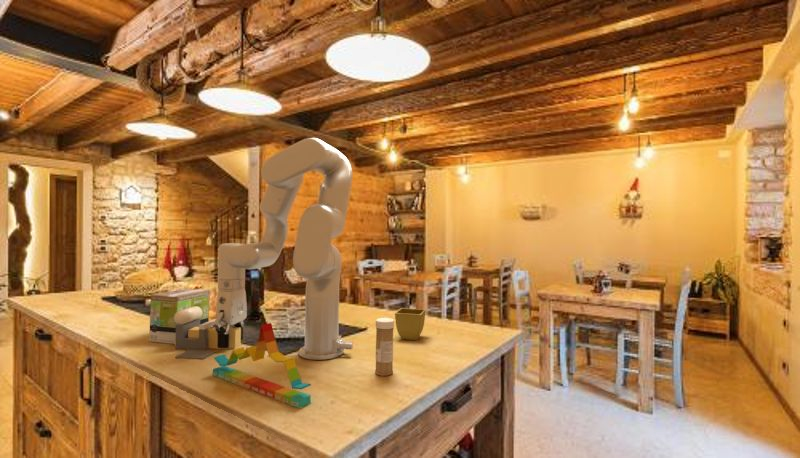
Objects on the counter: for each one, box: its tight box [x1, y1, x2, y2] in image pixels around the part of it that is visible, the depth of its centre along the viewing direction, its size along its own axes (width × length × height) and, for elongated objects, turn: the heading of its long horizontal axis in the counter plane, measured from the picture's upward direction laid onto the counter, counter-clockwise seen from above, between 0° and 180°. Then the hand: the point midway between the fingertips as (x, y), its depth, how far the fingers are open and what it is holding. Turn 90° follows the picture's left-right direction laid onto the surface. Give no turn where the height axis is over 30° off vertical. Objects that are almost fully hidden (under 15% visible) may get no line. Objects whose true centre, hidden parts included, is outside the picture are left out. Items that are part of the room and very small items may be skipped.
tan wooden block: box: [188, 326, 242, 350], centre depth 119 cm, size 14×4×6 cm, turn 89°
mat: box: [175, 350, 216, 360], centre depth 111 cm, size 8×6×1 cm
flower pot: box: [394, 307, 426, 341], centre depth 132 cm, size 9×9×9 cm
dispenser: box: [174, 306, 216, 351], centre depth 120 cm, size 9×10×11 cm
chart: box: [212, 322, 312, 409], centre depth 89 cm, size 30×3×15 cm, turn 56°
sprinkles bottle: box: [374, 317, 395, 377], centre depth 99 cm, size 5×5×14 cm
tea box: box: [148, 288, 211, 345], centre depth 129 cm, size 15×10×15 cm
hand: (230, 343), depth 119 cm, fingers open, 7 cm apart
